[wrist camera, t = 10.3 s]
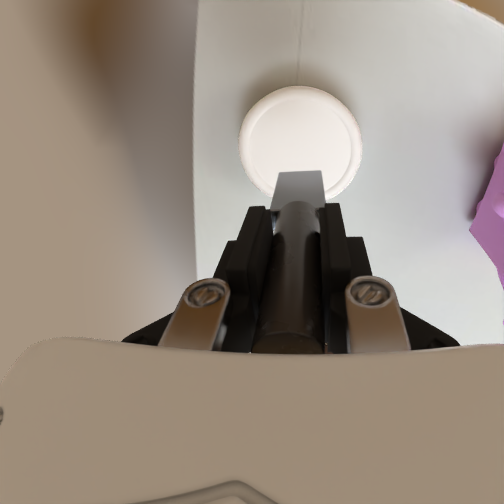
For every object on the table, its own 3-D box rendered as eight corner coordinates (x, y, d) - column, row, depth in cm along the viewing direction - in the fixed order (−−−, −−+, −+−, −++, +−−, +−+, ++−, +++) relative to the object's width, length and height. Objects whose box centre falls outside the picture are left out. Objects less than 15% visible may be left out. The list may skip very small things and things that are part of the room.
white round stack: (347, 79, 22) (354, 80, 19) (361, 185, 27) (368, 200, 24) (233, 96, 24) (223, 100, 22) (257, 198, 30) (252, 214, 27)
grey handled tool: (322, 192, 17) (334, 377, 7) (280, 194, 18) (244, 375, 8) (320, 163, 16) (340, 331, 6) (277, 165, 17) (232, 331, 7)
